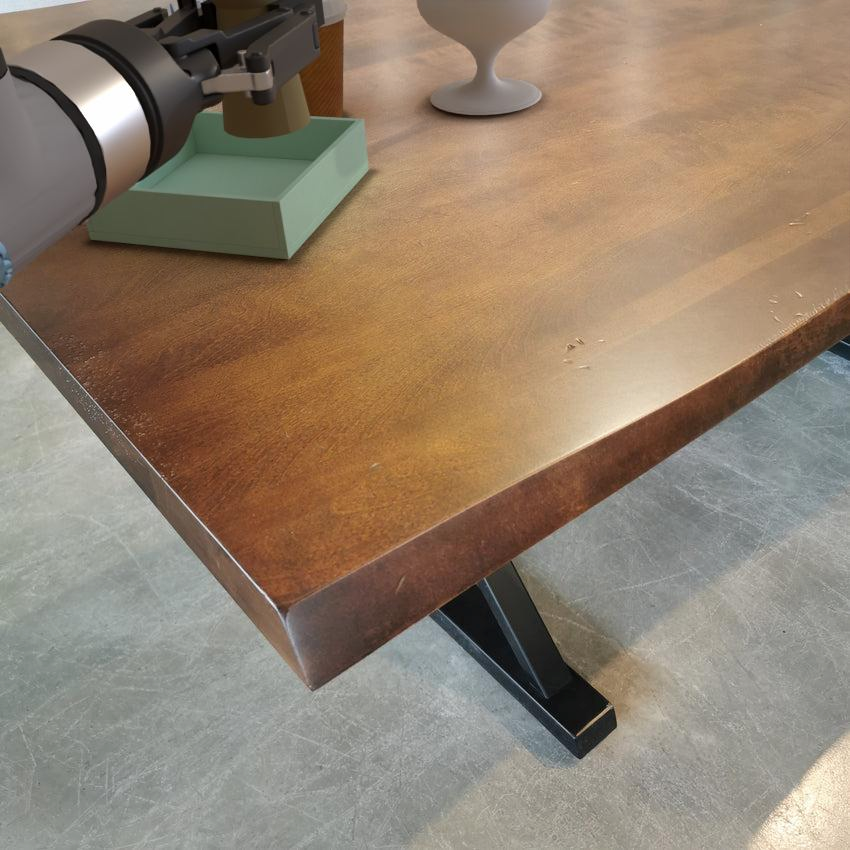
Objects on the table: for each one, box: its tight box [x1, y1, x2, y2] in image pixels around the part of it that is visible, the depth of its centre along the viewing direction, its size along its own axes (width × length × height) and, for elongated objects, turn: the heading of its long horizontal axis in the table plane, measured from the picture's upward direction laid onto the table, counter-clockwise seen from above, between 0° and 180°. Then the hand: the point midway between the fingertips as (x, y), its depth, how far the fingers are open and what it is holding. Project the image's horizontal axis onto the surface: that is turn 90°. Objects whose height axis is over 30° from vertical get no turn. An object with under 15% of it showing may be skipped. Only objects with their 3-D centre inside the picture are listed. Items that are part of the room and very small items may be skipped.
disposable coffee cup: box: [299, 0, 348, 118], centre depth 91 cm, size 10×10×12 cm
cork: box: [211, 0, 311, 139], centre depth 58 cm, size 6×6×11 cm
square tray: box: [85, 110, 370, 260], centre depth 77 cm, size 18×18×5 cm
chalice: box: [416, 0, 553, 116], centre depth 92 cm, size 14×14×15 cm
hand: (285, 1), depth 61 cm, fingers closed on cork, 4 cm apart
